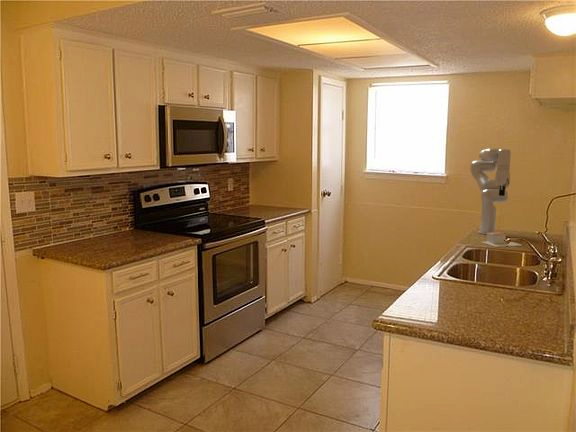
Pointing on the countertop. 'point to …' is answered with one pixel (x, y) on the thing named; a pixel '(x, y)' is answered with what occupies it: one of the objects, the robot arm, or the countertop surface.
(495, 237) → the small box
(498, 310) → the countertop surface
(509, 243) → the mat
